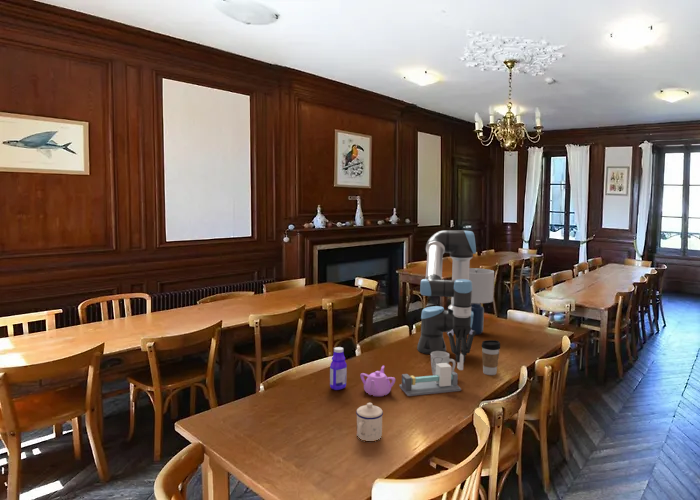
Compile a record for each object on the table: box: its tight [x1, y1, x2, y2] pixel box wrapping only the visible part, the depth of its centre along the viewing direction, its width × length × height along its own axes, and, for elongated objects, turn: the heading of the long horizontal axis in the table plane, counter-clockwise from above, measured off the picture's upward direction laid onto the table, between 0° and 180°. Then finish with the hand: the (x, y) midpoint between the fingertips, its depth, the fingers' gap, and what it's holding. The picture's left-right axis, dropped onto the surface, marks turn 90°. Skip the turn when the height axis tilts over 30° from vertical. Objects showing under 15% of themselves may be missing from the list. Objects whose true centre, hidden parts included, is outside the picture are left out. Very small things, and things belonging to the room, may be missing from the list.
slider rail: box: [399, 371, 462, 397], centre depth 204 cm, size 10×24×6 cm, turn 104°
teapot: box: [359, 365, 396, 397], centre depth 200 cm, size 12×14×9 cm
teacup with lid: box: [355, 402, 384, 441], centre depth 161 cm, size 12×9×12 cm
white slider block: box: [435, 363, 452, 387], centre depth 205 cm, size 5×5×8 cm
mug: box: [430, 351, 457, 376], centre depth 219 cm, size 11×8×10 cm
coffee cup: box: [481, 339, 501, 376], centre depth 223 cm, size 8×8×15 cm
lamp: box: [469, 267, 495, 336], centre depth 287 cm, size 20×20×39 cm
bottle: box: [329, 346, 348, 391], centre depth 204 cm, size 7×6×17 cm
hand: (460, 368), depth 207 cm, fingers closed
